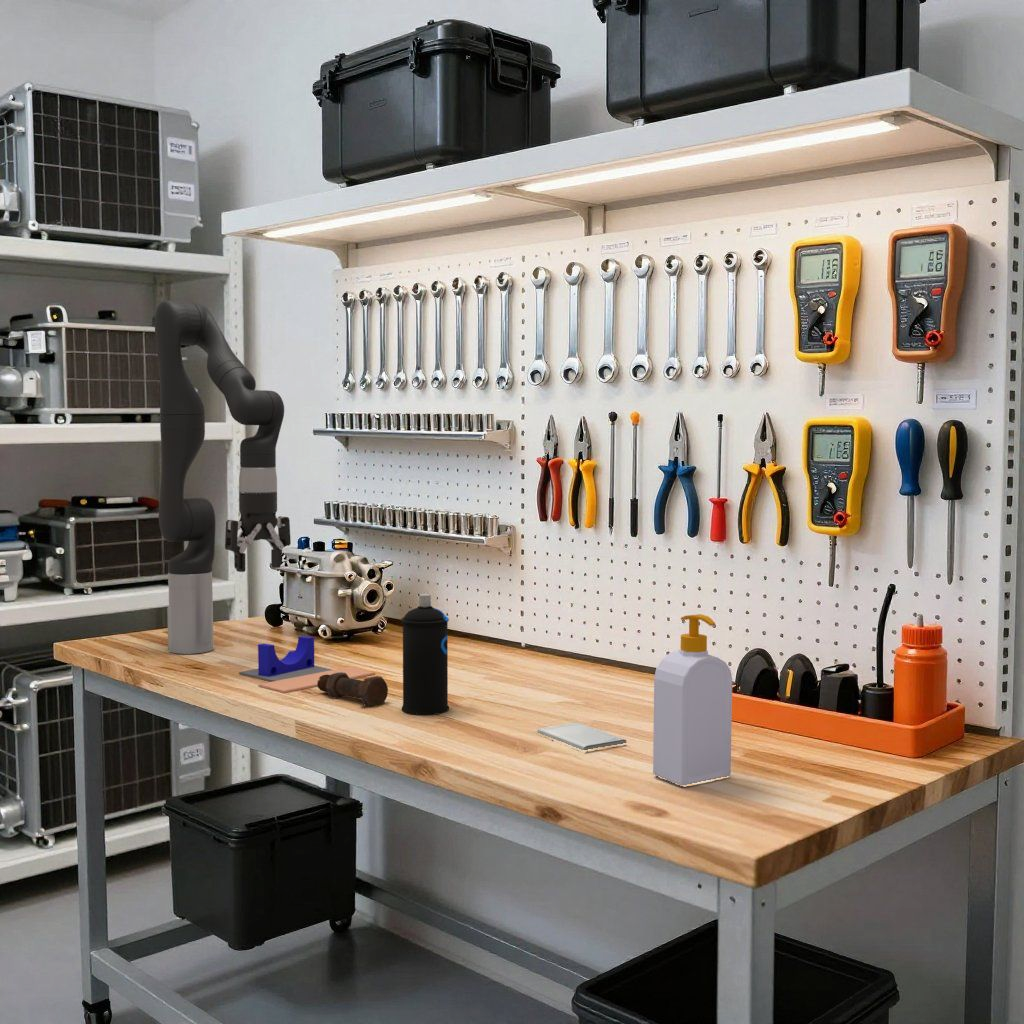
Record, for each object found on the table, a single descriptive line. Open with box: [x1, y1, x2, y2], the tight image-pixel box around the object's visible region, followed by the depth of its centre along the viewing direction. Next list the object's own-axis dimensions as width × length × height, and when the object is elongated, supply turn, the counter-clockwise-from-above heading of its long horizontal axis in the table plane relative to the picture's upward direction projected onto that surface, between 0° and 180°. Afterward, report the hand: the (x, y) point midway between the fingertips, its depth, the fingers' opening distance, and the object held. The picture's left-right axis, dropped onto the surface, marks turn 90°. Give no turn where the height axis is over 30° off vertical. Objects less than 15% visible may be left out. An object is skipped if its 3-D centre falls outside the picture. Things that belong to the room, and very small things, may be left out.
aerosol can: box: [400, 593, 450, 716], centre depth 198 cm, size 8×8×20 cm
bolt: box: [317, 672, 389, 708], centre depth 206 cm, size 6×5×15 cm
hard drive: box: [537, 722, 628, 750], centre depth 179 cm, size 2×8×12 cm
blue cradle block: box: [257, 635, 315, 677], centre depth 228 cm, size 12×4×6 cm, turn 143°
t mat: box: [238, 665, 376, 694], centre depth 225 cm, size 20×22×1 cm
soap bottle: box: [652, 613, 733, 785], centre depth 159 cm, size 9×7×23 cm
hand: (258, 569), depth 233 cm, fingers open, 8 cm apart
